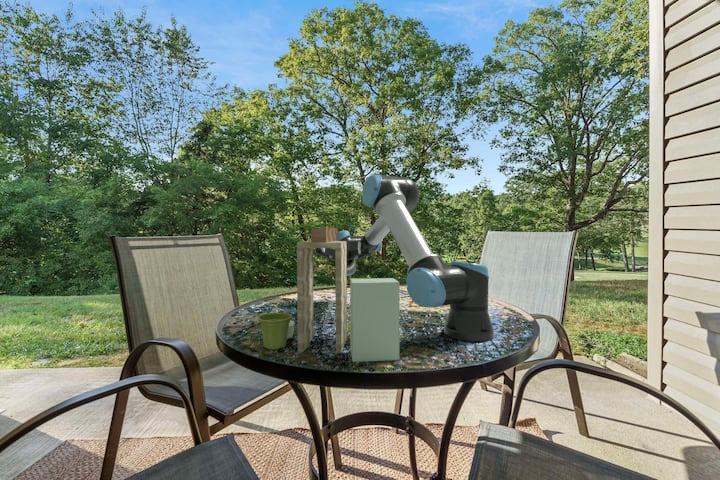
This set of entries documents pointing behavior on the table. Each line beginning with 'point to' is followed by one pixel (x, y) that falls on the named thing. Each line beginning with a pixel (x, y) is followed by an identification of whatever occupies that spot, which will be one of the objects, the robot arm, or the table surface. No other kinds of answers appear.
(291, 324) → the ramekin
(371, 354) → the block
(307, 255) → the bridge
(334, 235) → the rail
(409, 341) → the table surface
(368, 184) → the robot arm
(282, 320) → the plant pot
